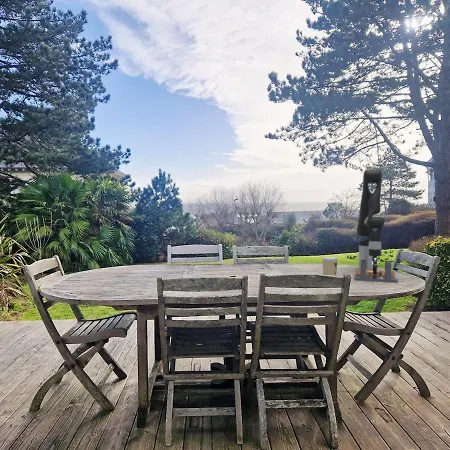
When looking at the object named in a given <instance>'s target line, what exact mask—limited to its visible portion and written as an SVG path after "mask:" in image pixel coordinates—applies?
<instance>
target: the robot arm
mask: <svg viewBox="0 0 450 450" xmlns="http://www.w3.org/2000/svg"><path fill="white" fill-rule="evenodd" d="M382 180H383V173H382V170H380V169H378V168H376V169H375V168H374V169H370V168H369V169H364V172H363V176H362V192H361V193H362V194H361V197H360V198H361V199H360V206H359V215H358V221H357V222H358V223H357V228H356V234H357V235H358V236H359V237H366V238H365V239H364V240H363V239H362V240H360V241H359V242H358V270H361V260H366V270H373V275H377V270H378V264H379V258H378V257H381V256H382V232H383V228H384V226H385V219H384V217H381V216H377V217H376V216H375V215H378V214H380V213H381V211H382V210H381V195H382ZM369 184H375V189H374V191H373V193H372V191H371V190H370V188H369ZM365 222H366V223H365ZM374 229H377V230H376V231H374Z"/></svg>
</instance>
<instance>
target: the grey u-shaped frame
mask: <svg viewBox="0 0 450 450" xmlns="http://www.w3.org/2000/svg"><path fill="white" fill-rule="evenodd" d="M359 270H360V269H359ZM384 271H385V277H380V276H366V260H361V270H360V275H355V274H354V278H353V279H354V281H363V282H377V283H378V282H380V283H394V284H395V283H397V284H398V280H399V279H397V277H395V276H394V277H391V271H392V262H391V260H384Z"/></svg>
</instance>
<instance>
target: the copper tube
mask: <svg viewBox="0 0 450 450" xmlns="http://www.w3.org/2000/svg"><path fill="white" fill-rule="evenodd" d="M355 275H360V269H355V274H354V276H355ZM366 276H380V277H385V270H381V269H380V270H379V269H377V275H373V269H372V270H366ZM391 277H395V271H394V270H391Z"/></svg>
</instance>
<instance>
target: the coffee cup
mask: <svg viewBox="0 0 450 450" xmlns="http://www.w3.org/2000/svg"><path fill="white" fill-rule="evenodd" d="M321 260H322V273H323V275H335V276H336V277H337V270H338V269H337V268H338V258H337V257H334V256H333V257H332V256H331V257H330V256H325V257H322V259H321Z"/></svg>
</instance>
